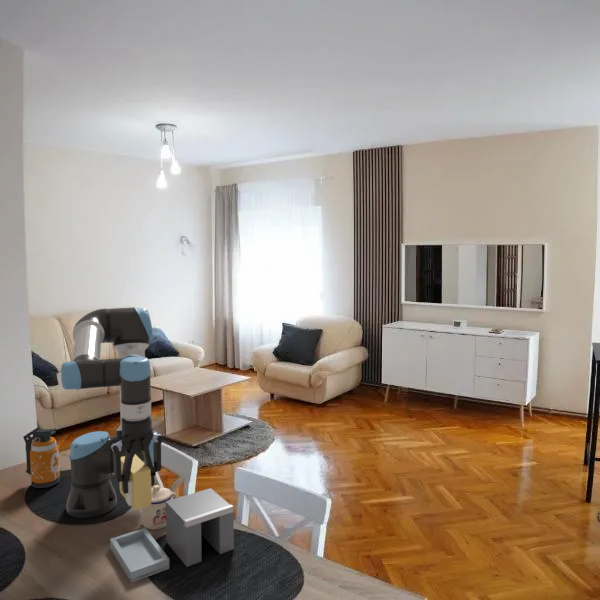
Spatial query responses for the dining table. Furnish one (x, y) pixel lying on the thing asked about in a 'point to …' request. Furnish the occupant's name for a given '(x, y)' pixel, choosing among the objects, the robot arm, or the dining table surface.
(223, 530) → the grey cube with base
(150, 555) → the tray
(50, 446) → the canister
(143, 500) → the yellow cuboid
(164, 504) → the teacup with lid
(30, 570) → the dining table surface
